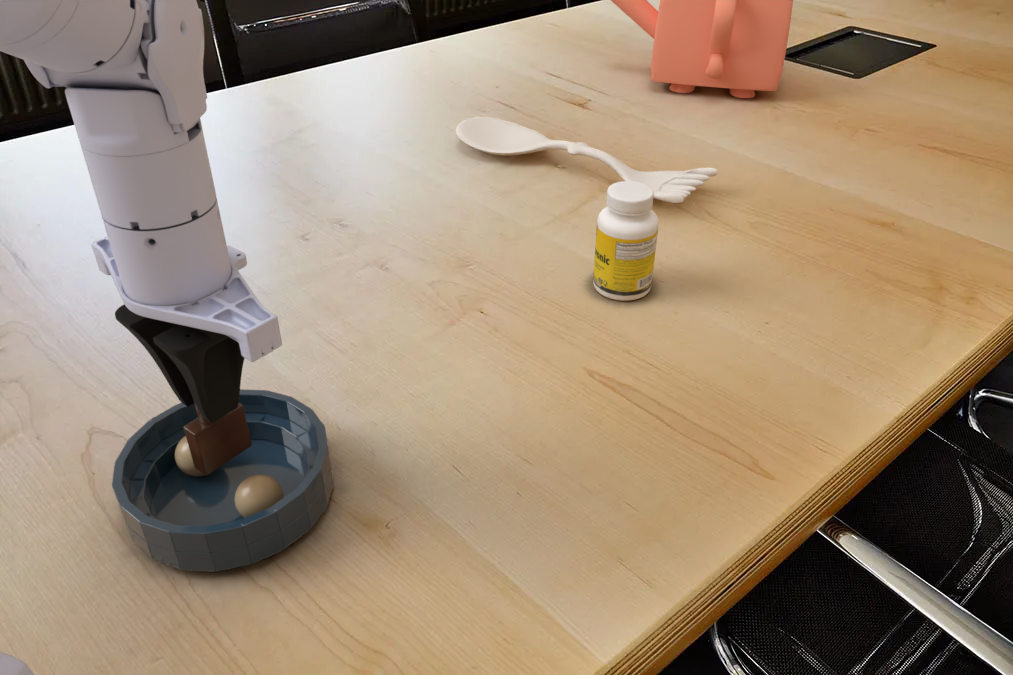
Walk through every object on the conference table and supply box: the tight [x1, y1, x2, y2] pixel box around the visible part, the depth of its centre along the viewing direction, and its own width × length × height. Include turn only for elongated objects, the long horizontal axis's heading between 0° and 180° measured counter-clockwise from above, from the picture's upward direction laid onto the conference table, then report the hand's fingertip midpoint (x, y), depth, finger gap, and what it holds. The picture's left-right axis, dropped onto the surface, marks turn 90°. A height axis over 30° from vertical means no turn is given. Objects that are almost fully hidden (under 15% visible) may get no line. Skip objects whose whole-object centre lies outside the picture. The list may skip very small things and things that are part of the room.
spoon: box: [455, 115, 718, 204], centre depth 99 cm, size 9×32×4 cm, turn 54°
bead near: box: [235, 474, 284, 518], centre depth 54 cm, size 3×3×3 cm
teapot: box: [610, 0, 794, 99], centre depth 121 cm, size 25×23×18 cm
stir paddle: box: [183, 399, 252, 476], centre depth 52 cm, size 4×2×9 cm, turn 142°
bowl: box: [111, 388, 334, 572], centre depth 56 cm, size 13×13×4 cm
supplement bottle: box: [592, 180, 659, 302], centre depth 76 cm, size 5×5×10 cm
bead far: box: [175, 436, 205, 477], centre depth 58 cm, size 3×3×3 cm
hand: (210, 404), depth 53 cm, fingers closed on stir paddle, 2 cm apart
